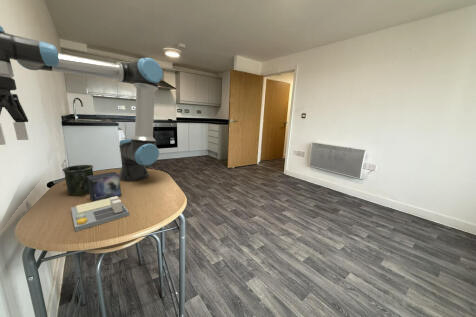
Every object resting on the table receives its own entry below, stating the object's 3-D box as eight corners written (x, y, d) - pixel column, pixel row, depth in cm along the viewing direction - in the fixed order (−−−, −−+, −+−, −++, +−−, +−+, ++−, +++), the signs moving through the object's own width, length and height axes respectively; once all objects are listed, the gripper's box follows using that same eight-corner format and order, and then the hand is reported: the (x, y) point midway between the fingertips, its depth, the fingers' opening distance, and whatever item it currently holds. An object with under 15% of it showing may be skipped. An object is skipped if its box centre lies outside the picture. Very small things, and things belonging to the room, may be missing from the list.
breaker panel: (117, 200, 80) (116, 194, 80) (129, 215, 68) (128, 209, 68) (71, 211, 70) (70, 205, 69) (75, 231, 58) (74, 224, 57)
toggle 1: (118, 205, 71) (117, 196, 71) (119, 207, 70) (118, 197, 69) (110, 207, 70) (109, 197, 69) (112, 209, 68) (110, 199, 67)
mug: (94, 186, 96) (91, 163, 93) (99, 194, 86) (96, 169, 83) (66, 191, 88) (61, 167, 86) (68, 201, 78) (63, 174, 76)
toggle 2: (120, 208, 69) (119, 199, 68) (122, 211, 67) (121, 201, 66) (113, 210, 67) (111, 201, 66) (114, 213, 65) (113, 203, 64)
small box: (93, 203, 77) (90, 179, 74) (89, 199, 81) (86, 176, 79) (122, 196, 85) (119, 174, 82) (117, 192, 89) (114, 171, 86)
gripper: (4, 81, 68) (17, 138, 73) (-60, 64, 46) (-35, 147, 51) (32, 83, 71) (43, 137, 76) (-15, 68, 50) (4, 146, 54)
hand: (12, 142), depth 63 cm, fingers open, 13 cm apart
